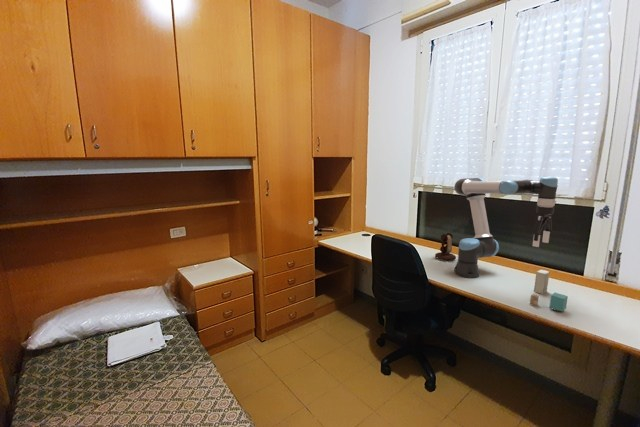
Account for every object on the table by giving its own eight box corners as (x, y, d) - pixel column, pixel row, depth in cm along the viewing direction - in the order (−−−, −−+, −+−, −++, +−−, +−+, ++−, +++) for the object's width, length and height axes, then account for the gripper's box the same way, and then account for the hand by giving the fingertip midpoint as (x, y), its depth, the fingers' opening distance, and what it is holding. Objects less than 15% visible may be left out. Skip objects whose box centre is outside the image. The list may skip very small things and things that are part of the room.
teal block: (549, 307, 147) (551, 295, 146) (553, 304, 150) (554, 292, 149) (562, 311, 143) (564, 299, 142) (565, 308, 146) (567, 296, 144)
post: (529, 304, 152) (531, 295, 152) (531, 302, 154) (533, 293, 153) (535, 306, 150) (536, 296, 150) (537, 304, 152) (538, 295, 151)
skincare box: (538, 288, 171) (540, 269, 169) (547, 291, 167) (550, 271, 165) (533, 291, 167) (536, 271, 165) (542, 294, 164) (545, 273, 162)
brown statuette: (449, 263, 215) (451, 237, 211) (431, 258, 226) (432, 233, 223) (459, 259, 223) (461, 234, 220) (441, 254, 235) (443, 230, 232)
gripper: (545, 209, 146) (539, 249, 150) (562, 205, 160) (557, 242, 164) (527, 207, 152) (523, 246, 156) (546, 203, 166) (541, 239, 170)
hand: (540, 244), depth 160 cm, fingers open, 13 cm apart
